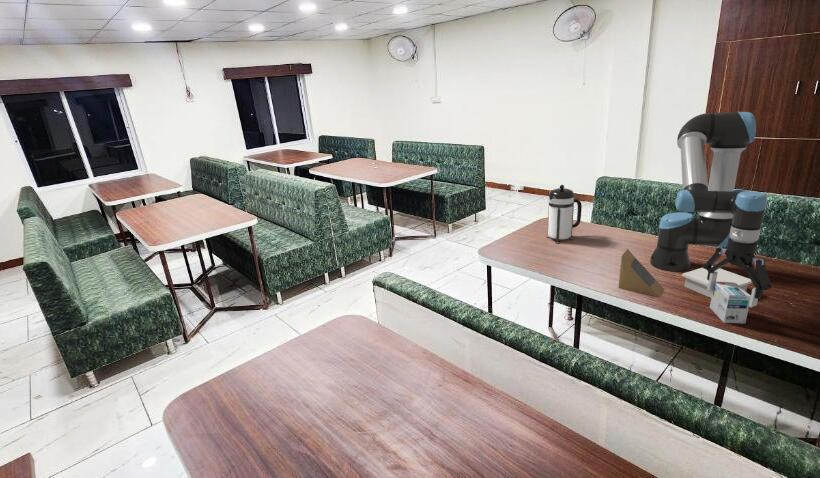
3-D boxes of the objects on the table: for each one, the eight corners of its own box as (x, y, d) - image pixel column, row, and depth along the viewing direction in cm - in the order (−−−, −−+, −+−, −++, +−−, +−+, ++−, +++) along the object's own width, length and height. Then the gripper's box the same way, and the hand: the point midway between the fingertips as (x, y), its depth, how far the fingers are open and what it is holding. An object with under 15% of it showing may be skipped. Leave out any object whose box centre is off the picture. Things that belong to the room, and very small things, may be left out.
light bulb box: (746, 324, 138) (752, 295, 134) (723, 323, 139) (729, 295, 135) (729, 307, 147) (735, 281, 143) (708, 307, 149) (713, 280, 145)
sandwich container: (661, 297, 158) (666, 262, 153) (617, 288, 167) (621, 255, 162) (664, 288, 164) (670, 254, 159) (623, 280, 173) (626, 247, 168)
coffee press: (572, 245, 212) (576, 189, 201) (541, 241, 220) (543, 187, 210) (580, 234, 225) (583, 181, 215) (550, 231, 234) (552, 179, 223)
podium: (680, 286, 164) (682, 273, 162) (708, 277, 169) (710, 265, 167) (720, 303, 150) (723, 290, 148) (750, 293, 155) (753, 280, 153)
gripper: (697, 231, 143) (688, 285, 150) (779, 253, 121) (764, 316, 128) (712, 227, 145) (702, 281, 152) (796, 249, 123) (780, 310, 130)
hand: (730, 297), depth 140 cm, fingers open, 13 cm apart
